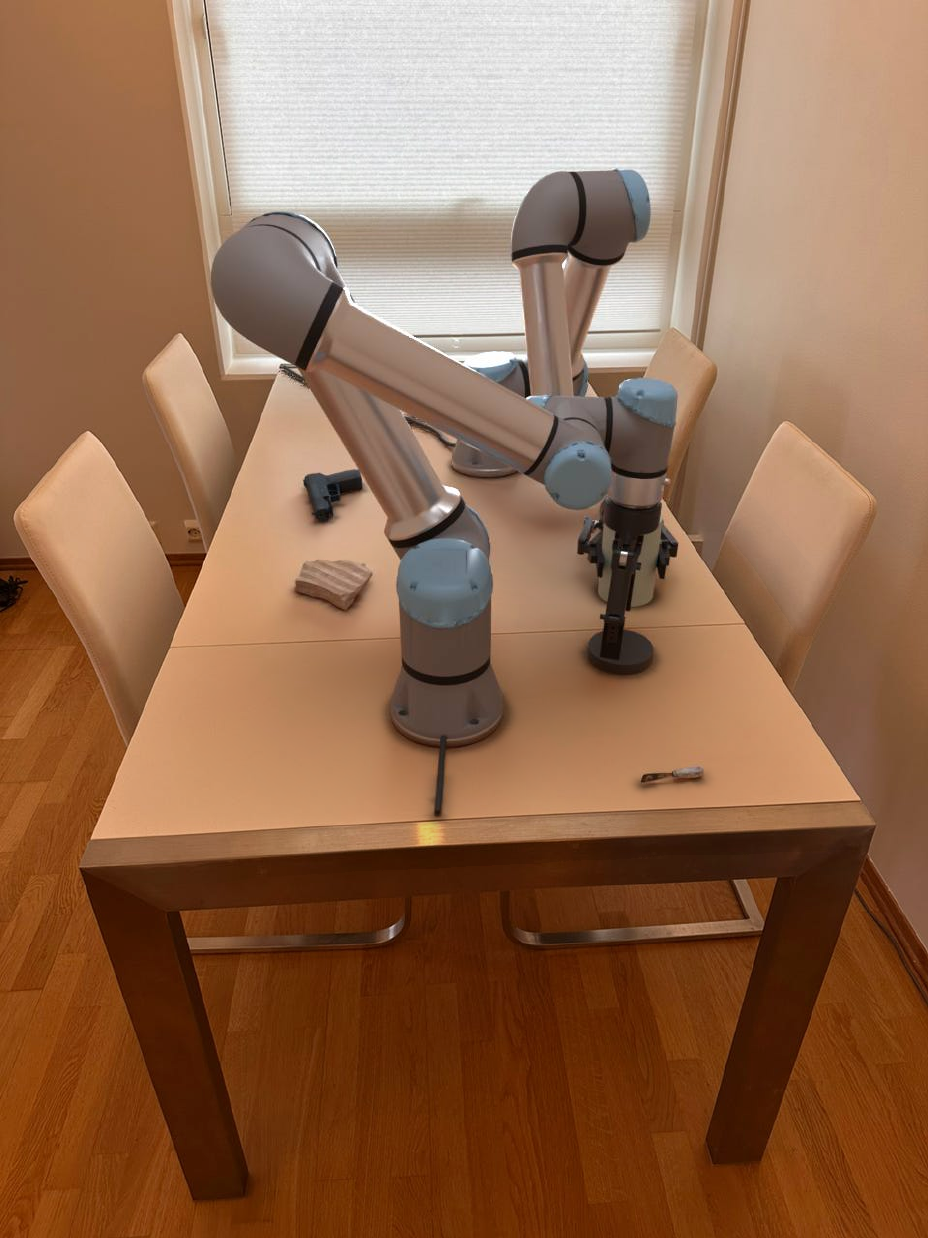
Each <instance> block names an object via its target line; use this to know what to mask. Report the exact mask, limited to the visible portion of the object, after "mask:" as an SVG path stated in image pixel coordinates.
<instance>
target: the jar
mask: <svg viewBox="0 0 928 1238" xmlns="http://www.w3.org/2000/svg"><path fill="white" fill-rule="evenodd" d="M663 518H664V517H663V515H662V513H661V516H660V522H659V526H658V528H657V529H656V530H655V531H654V532H652V533H650V534H646V535H644V540H643V545H642V549H641V554H640V556H639V557H638V562H640V563H641V569H640V570H636V574H635V581H634V588H633V595H632V601H631V608H637V607H641V606H644V605H646V604H648V603H650V602H651V601H652V600H653V598H654V592H655V591H654V590H655V583H656V575H657V560H658V552H659V544H660V536H661V528H662V520H664V519H663ZM614 538H615V531H613V530H611V529H609V528H608V527H607V526H606V525H605V523H604V528H603V540H602V554H603V561H604V564H603V576H602V578H598V586H597V593H598V596H599V598H601V600H602V601H605V602H606V603H607V600H608V594H609V588H610V581H611V575H612V570H611V561H612V555H613V552H612V544H613V539H614Z"/></svg>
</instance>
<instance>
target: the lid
mask: <svg viewBox="0 0 928 1238" xmlns="http://www.w3.org/2000/svg"><path fill="white" fill-rule="evenodd" d="M602 636H603V630H601V631H599V632H596V633H594V635H592V636H591V637H590V638H589V640H588V644H587V658H588V660H589V661H590V663H591V664H592V665H593V666H594V667H596V668H597V669H599V670H600V671H604V672H606V673H609V674H614V675H621V676H622V675H623V676H627V675H635V674H639V673H641V672H644V671H646V670H647V669H649V668H650V667H651V665H652V663H653V658H654V652H655V649H654V645H653V643H652V642H651V641H650V639H649V638H647V637H646V636H644V635H642V633H638V632H636V631H633V630H629V629H624V631H623V638H622V645H621V652H620V659H619V660H614V659H608V658H602V657H600V651H601V644H602Z"/></svg>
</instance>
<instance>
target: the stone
mask: <svg viewBox="0 0 928 1238" xmlns="http://www.w3.org/2000/svg"><path fill="white" fill-rule="evenodd" d="M373 575H374V574H373V571H372V570H371V569H370V568H368V567H367V564H366V562H365V563H359V562H357V561H353V560H349V559H341V560H340V559H339V560H328V559H316V560H314V561H313V560H311V561H309V560H306V561H304V562H303V563H302V566H301V568H300V572H299V575H298V577H297V578H296V579H295V581H294V585H295V586H294V591H295V592H299V593H301V594H305V595H307V596H310V597H312V598H320V599H324V600H325V601H328V602H329V603H331V604H332V605H334V606H335V607H338V608H339V609H341V610H344V611H347V610H348V608H349V607H351V606H352V605H353V604H354V601H355V598H356V596H357V595H358V594H359V593H360V592H361V590H362V589H364V588H365V587H366V586H367V585H368V583H369V582H370V580H371V579H372V576H373Z"/></svg>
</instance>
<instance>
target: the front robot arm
mask: <svg viewBox="0 0 928 1238" xmlns="http://www.w3.org/2000/svg"><path fill="white" fill-rule="evenodd" d="M210 288H211V293H212V297H213V300H214V303H215V305H216V307H217V310H218V312H219V313H220V314H221V316H222V317H223V319H224V320H225V321H226V323H227V324H228V325H229V326H230V327H231V328H232V329H233V330H234V331H235V332H237V333H238V334H240V336H242V337H243V338H244V339H246V340H247V341H249V342H251V343H253V344H254V345H256V346H258V347H259V348H260V349H263V350H264V351H267V352H268V353H270V354H271V355H274V356H275V357H277V358H279V359H281V360H283V361H284V362H287V363H289V364H290V365H292V366H295V367H296V368H297V370H298V372H299V374H300V375H301V376H302V377H303V378H304V380H305V381H306V382H305V381H304V382H305V383H306V385H307V387H308V388H309V390H310V391H311V393H312V395H313V396H314V398H315V400H316V402H317V403H318V405H319V406H320V408H321V410H322V412H323V413H324V415H325V417H326V418H327V419H328V422H329V423H330V425H331V426H332V428H333V430H334V431H335V433H336V435H337V436H338V438H339V440H340V441H341V443H342V445H343V446H344V448H345V450H346V451H347V453H348V455H349V456H350V457H351V460H352V461H353V462H354V465H355V466H356V468H357V470H359V471H360V473H361V477H362V479H364V482H365V483H366V485H367V486H368V487H369V489H370V491H371V493H372V494H373V496H374V497H375V499H376V501H377V503H378V504H379V507H381V509H382V511H383V513H384V514H385V516H386V518H387V519H386V523H385V526H384V530H383V533H384V535H385V538H386V539H387V541H388V542H389V544H390V546H391V547H392V549H393V550H394V552H395V554H396V555H397V557H398V559H399V560H400V562H399V565H398V568H397V575H396V581H395V589H396V594H397V598H398V611H399V612H398V613H399V615H398V616H399V630H400V631H399V632H400V634H399V635H400V655H401V667H400V669H399V672H398V675H397V678H396V681H395V684H394V687H393V690H392V693H391V696H390V718H391V721H392V724H393V725H394V727H395V728H396V729H397V731H398V732H399V733H400V734H402V735H403V736H404V737H406V738H407V739H409V740H411V741H413V742H415V743H417V744H420V745H421V744H422V745H425V746H430V747H437V748H439V750H438V751H439V753H438V763H437V764H438V765H437V779H436V791H435V801H434V811H433V812H434V815H436V816H439V815H441V814H442V807H443V806H442V805H443V793H444V781H445V769H446V768H445V767H446V766H445V765H446V755H447V754H446V753H447V751H446V750H447V748H454V747H455V748H457V747H463V746H467V745H471V744H473V743H476V742H480V741H481V740H483V739H485V738H486V737H488V736H489V735H491V734H492V733H493V732H494V731H495V730H496V729H498V727H499V726H500V724H501V722H502V720H503V717H504V697H503V693H502V690H501V687H500V685H499V682H498V679H497V677H496V674H495V672H494V668H493V666H492V664H491V654H492V653H491V651H492V649H491V648H492V647H491V645H492V595H493V589H494V578H493V573H492V569H491V563H490V556H491V542H490V536H489V532H488V530H487V529H488V528H487V527H486V526H485V523H484V521H483V519H482V517H481V516H480V515H479V514H478V513H477V512H476V510H475V509H473V508H472V507H470V506H469V505H468V504H466V501H465V500H464V498H463V496H462V494H461V493H460V491H459V490H458V489H456V488H454V487H450V486H446V485H443V483H442V481H441V479H440V478H439V476H438V474H437V473H436V471H435V469H434V467H433V466H432V464H431V462H430V460H429V458H428V456H427V455H426V453H425V451H424V449H423V447H422V446H421V444H420V442H419V440H418V439H417V436H416V435H415V433H414V431H413V429H412V428H411V426H410V424H409V423H408V422H409V421H406V419H405V417H404V416H405V415H404V413H406V414H408V415H410V416H411V417H413V418H415V419H416V420H417V419H418V420H420V422H422V423H424V424H426V425H429V426H431V427H433V428H435V429H436V430H438V431H439V432H441V433H442V432H443V433H444V434H446V435H448V436H450V437H452V438H454V439H456V441H457V440H459V441H461V442H463V443H465V444H467V445H469V446H471V447H473V448H475V449H477V450H479V451H480V452H482V453H484V454H486V455H488V456H490V457H492V458H494V459H496V460H498V461H500V462H502V463H504V464H505V465H507V466H509V467H511V468H513V469H515V470H517V471H516V472H519V473H521V474H522V475H524V476H527V477H528V478H531V479H532V480H533V481H536V482H538V483H539V484H541V485H543V486H544V489H545V491H546V492H547V494H548V495H549V496H550V498H551V499H552V500H553V501H554V502H555V504H557V505H558V506H560V507H561V508H564V509H566V510H571V511H584V510H588V509H590V508H593V507H595V506H596V505H598V503H599V502H600V501H601V500H602V499H603V498H604V497H605V496H606V495H608V496H607V497H606V499H605V507H604V515H603V521H604V523H605V525H606V526H607V527H608V528H609V529H611V530H613V531H615V538H614V539H613V544H612V552H613V555H612V561H611V570H612V575H611V581H610V588H609V594H608V600H607V602H606V607H605V613H604V614H603V613H600V614H599V620H602V621H603V630H602V631H603V636H602V644H601V651H600V657H602V658H608V659H614V660H619V659H620V652H621V645H622V638H623V631H624V630H625V625H626V616H625V614H626V612H631V608H632V607H631V601H632V595H633V588H634V581H635V574H636V570H640V569H641V563H640V562H638V557H639V556H640V554H641V549H642V545H643V540H644V535H646V534H650V533H652V532H654V531H655V530H656V529H657V528H658V526H659V522H660V516H661V514H662V509H663V503H662V500H663V498H664V493H665V486H667V487H668V486H670V485H671V478H668V477H667V473H668V467H669V466H668V465H669V460H670V455H671V454H670V453H671V450H672V449H671V448H672V444H673V438H674V432H675V427H676V425H677V422H676V421H677V409H678V395H679V394H678V391H677V390H676V388H675V387H674V386H673V385H672V384H670V383H669V382H666V381H664V380H661V379H657V378H651V377H636V378H627V379H625V380H624V381H622V382H621V383H620V384H619V386H618V391H617V392H616V393H615V396H607V397H606V396H604V397H603V396H585V397H579V396H555V395H553V394H549V395H544V396H529V397H527V398H524V397H522V396H520V395H518V394H517V393H515V392H513V391H511V390H509V389H507V388H506V387H504V386H502V385H500V384H498V383H497V382H495V381H493V380H491V379H489V378H487V377H486V376H484V375H482V374H480V373H478V372H477V371H475V370H473V369H471V368H469V367H467V366H466V365H464V364H463V362H461V361H458V360H457V359H455V358H453V357H451V356H449V355H448V354H445V353H444V352H442V351H440V350H438V349H436V348H435V347H433V346H431V345H429V344H428V343H426V342H424V341H422V340H420V339H418V338H416V337H414V336H413V335H411V334H409V333H408V332H406V331H404V330H402V329H401V328H399V327H397V326H394V325H393V324H391V323H390V322H388V321H386V320H384V319H383V318H380V317H378V316H376V315H375V314H373V313H371V312H369V311H367V310H366V309H364V308H362V307H361V306H358V305H357V302H356V301H355V299H354V297H353V295H352V294H351V292H350V289H349V288H348V286H347V284H346V283H345V281H344V279H343V277H342V275H341V273H340V272H339V266H338V257H337V254H336V252H335V248H334V245H333V243H332V241H331V239H330V238H329V236H328V235H327V233H326V232H325V231H324V229H323V228H322V227H321V226H320V225H318V224H317V222H315V221H313V220H312V219H311V218H309V217H307V216H305V215H303V214H301V213H297V212H294V211H287V210H279V211H278V210H277V211H271V212H265V213H264V214H262V215H259V216H256V217H253V218H252V219H251V220H250V221H249V222H247V223H246V224H244V225H243V226H242V227H241V228H240V229H239V230H237V231H236V232H234V233H233V234H232V235H230V236H229V237H227V239H226V240H224V242H223V243H222V244H221V245H220V247H219V249H218V250H217V252H216V254H215V255H214V258H213V260H212V264H211V270H210ZM403 412H404V413H403ZM610 457H611V459H610Z"/></svg>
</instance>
